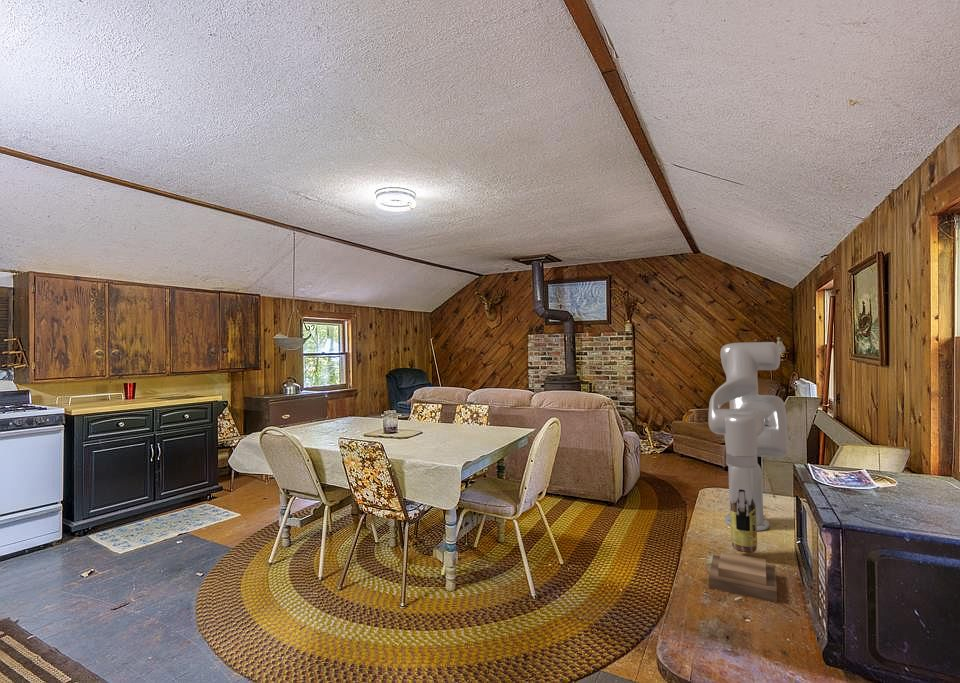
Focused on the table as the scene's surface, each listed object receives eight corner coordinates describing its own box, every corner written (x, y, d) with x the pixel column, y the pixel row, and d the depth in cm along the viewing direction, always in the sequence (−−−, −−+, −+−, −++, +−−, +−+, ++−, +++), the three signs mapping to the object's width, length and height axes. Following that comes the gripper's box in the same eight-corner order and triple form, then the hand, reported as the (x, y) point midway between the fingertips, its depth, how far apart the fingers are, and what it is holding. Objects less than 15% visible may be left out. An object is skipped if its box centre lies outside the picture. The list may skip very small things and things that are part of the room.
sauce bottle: (759, 555, 128) (757, 481, 128) (733, 552, 130) (731, 479, 130) (754, 544, 134) (752, 473, 134) (729, 542, 136) (727, 472, 136)
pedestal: (713, 564, 128) (713, 547, 128) (775, 575, 121) (774, 557, 121) (708, 588, 116) (708, 569, 116) (777, 602, 109) (776, 582, 109)
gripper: (727, 451, 141) (729, 512, 142) (724, 467, 126) (726, 535, 127) (757, 453, 137) (759, 516, 138) (757, 470, 122) (759, 540, 123)
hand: (743, 524), depth 132 cm, fingers closed on sauce bottle, 6 cm apart
